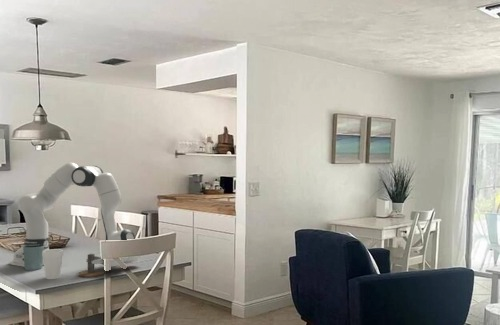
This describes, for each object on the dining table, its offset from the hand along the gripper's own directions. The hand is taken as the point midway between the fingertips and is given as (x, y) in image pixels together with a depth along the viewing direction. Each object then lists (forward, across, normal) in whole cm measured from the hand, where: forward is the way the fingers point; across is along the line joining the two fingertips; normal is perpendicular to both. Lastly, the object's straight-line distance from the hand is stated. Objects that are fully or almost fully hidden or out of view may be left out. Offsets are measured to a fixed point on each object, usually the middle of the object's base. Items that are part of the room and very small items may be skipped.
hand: (89, 261), depth 241 cm
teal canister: (+13, -33, +7) cm, 36 cm away
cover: (-1, 0, +7) cm, 7 cm away
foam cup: (+15, -8, +7) cm, 18 cm away
